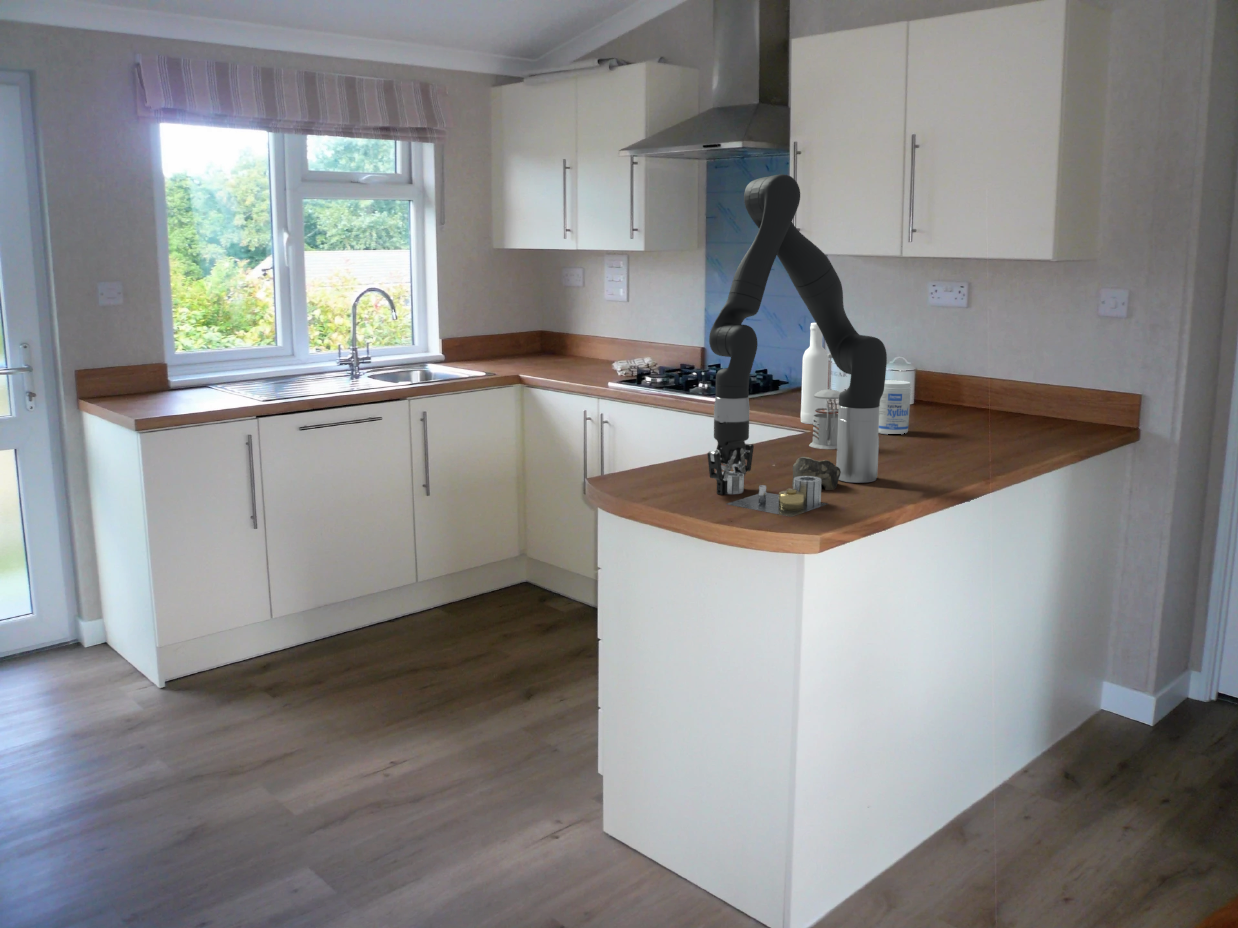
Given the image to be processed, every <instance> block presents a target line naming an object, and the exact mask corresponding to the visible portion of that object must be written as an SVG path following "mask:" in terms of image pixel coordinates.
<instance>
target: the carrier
mask: <svg viewBox="0 0 1238 928" xmlns="http://www.w3.org/2000/svg"><path fill="white" fill-rule="evenodd" d="M726 505H727V506H728V505H729V506H733V507H738V508H743V509H744V508H745V509H749V510H754V511H758V512H759V511H760V512H765V513H768V514H769V513H770V514H775V515H780V516H786V517H791V518H793V517H795V516H798V515H801V514H803V513H806V512H810V511H812V510H815V509H818V508H821V507H824V506H827V505H829V503H827V502H822V501H821V503H820V504H818V505H813V506H807V505H806V506H805V505H804V493H803V492H799V491H797V490H796V489H793V487H792V488H786V490H782V491H779V492H778V494H777V493H773V492H772V493H771V492H767V485H765V484H760V485H758V493H756V494H753V495H750V496H747V497H744V498H740V499H736V500H734V501H730V502H728V503H726Z"/></svg>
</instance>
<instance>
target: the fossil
mask: <svg viewBox="0 0 1238 928" xmlns="http://www.w3.org/2000/svg"><path fill="white" fill-rule="evenodd" d="M840 474H841V471H840V468H839V467H837V466H836V464H834V463H833V462H832V461H830V460H828V459H823V460H816V459H813V458H811V457H808V456H800V457H798V458H797V459H796V460H795V462H794V464H793V465H792V484H791V487H792V489H793V488H794V478H795V477H799V476H814V477H818V478H821V486H823V487H824V490H825V491H832V490H835V489H836V488H837V486H838V484H839V481H840V480H839V477H840Z"/></svg>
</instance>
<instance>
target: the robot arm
mask: <svg viewBox="0 0 1238 928" xmlns="http://www.w3.org/2000/svg"><path fill="white" fill-rule="evenodd" d="M743 200H744V202H743V203H744V206H745V209H746V211H747V213H748V215H749V217H750V218H751V220H752V221H753V223H754V225H756V227H757V228H758V232H757V234H756V235H755V237H754V240H753V241H752V244H751V245H750V247H749V249H748V250H747V252H746V253H745V254H744V256H742V257H743V258H742V259H741V261H740V262H739V264H738V267H737V268H736V270H735V272H734V275H733V278H732V282H731V286H730V290H729V293H728V296H727V299H726V302H725V304H724V305H723V307H722V309H720V312H719V313H718V314H717V317H716V319H715V320H714V322H713V324H712V327H711V329H710V332H709V336H708V342H709V347H710V350H711V351H712V352H713V354H715V355H717V356H720V357H725V358H726V357H728V358H730V360H729V363H728V366H727V367H726V368H721V369H719V370H718V371H717V373H716V374H715V375H716V376H715V400H714V406H713V407H714V408H713V438H714V440H715V441H716V442H717V446H716V450H714V451H708V452H707V462H708V471H709V472H708V474H709V477H710V479H715V480H716V494H717V495H721V496H724V495H725V496H726V495H728V494H727V481H726V480H727V477H728V473H729V471H731V470H733V471H735V472H740V473H743V474H744V477H745V476H746V475H747V472H750V471H751V470H752V463H753V455H754V447H755V446H754V444H753V443H752V444H751V443H746V441H747V440H749V438H750V401H749V395H750V394H749V388H750V387H749V385H750V376H751V372H752V370H753V366H754V362H755V358H756V354H757V351H758V337H757V334H756V332H755V330H754V328H752V327H751V326H750V325H747V324H743V322H744V321H745V319H747V318H751V317H753V316H756V315H757V314H758V312H759V310H760V307H761V304H762V300H763V297H764V293H765V289H766V286H767V282H768V280H769V276H770V273H771V271H772V268H773V265H774V263H775V260H776V257H777V258H778V260H779V261H780V263H781V264H782V266H783V268H784V269H785V272H786V273H787V274H788V276H789V279H790V281H791V282H792V285H793V286H794V288H795V290H796V291H797V293H798V295H799V297H800V298H801V301H803V303H804V304H805V306H806V308H807V309H808V311H809V313H810V316H811V317H812V318H813V320H814V321H815V322H814V323H816V324H817V325H818V327H819V329H820V331H821V333H822V338H823V339H824V341H825V344H826V346H827V348H828V351H829V353H831V356H832V358H831V359H833V361H834V364H835V365H836V367H837V369H839V370H840V371H841V372H842V373H844V374H847V375H850V381H849V386H848V387H847V388H846V389H845V390H843V391H840V392H841V393H840V395H839V399H838V407H837V409H838V413H837V414H838V435H837V449H836V460H835V461H836V462H835V463H836V464H835V466H837V467H839V468H840V471H841V474H840V477H839V480H838V481H841V482H846V483H857V484H858V483H860V484H861V483H862V484H863V483H864V484H865V483H871V482H875V481H876V480H877V477H878V470H879V469H878V468H879V467H878V465H879V449H880V447H879V446H880V439H879V433H878V432H879V408H880V399H881V397H882V395H883V392H884V386H885V380H886V376H887V375H886V374H887V373H886V371H887V364H888V363H887V361H888V355H887V349H886V346H885V344H884V342H883V341H882V340H881V339H880V338H878V337H876V336H871V335H864V334H859V333H858V331H857V330H856V328H855V327H854V326H853V324H852V323H851V321H850V319H849V318H848V315H847V313H846V311H845V308H844V306H845V305H844V289H843V285H842V281H841V279H840V277H839V275H838V273H837V272H836V269H835V268H834V266H833V264H832V262H831V261H830V259H829V258H828V257H827V254H825V253H824V252H823V251H822V249H820V248H819V247H818V246H817V245H816V244H814V243H813V242H812V241H811V240H810V239H809V238H807V237H806V236H805V235H804V234H803V233H802V232H801V231H800V230H799V229H798V228H797V227H796V226H795V223H793V220H794V218H795V216H796V213H797V211H798V208H799V205H800V200H801V189H800V185H799V184H798V182H797V181H796V179H795V178H793V177H792V176H790V175H788V174H783V173H782V174H775V175H769V176H764V177H760V178H757V179H753V180H752V181H749V183H748V184H747V185H746V187H745V189H744V194H743ZM722 472H724V473H723V475H722ZM744 488H745V483H744V484H743V490H744Z"/></svg>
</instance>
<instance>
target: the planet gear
mask: <svg viewBox="0 0 1238 928" xmlns="http://www.w3.org/2000/svg"><path fill="white" fill-rule="evenodd" d="M723 473H724V471H722V475H723ZM726 481H727V495H739V494H743V493H744V489H743V484H744V485H745V476H744V474H743V473H740V472H735V471H729V473H728V477H727V480H726Z"/></svg>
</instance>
